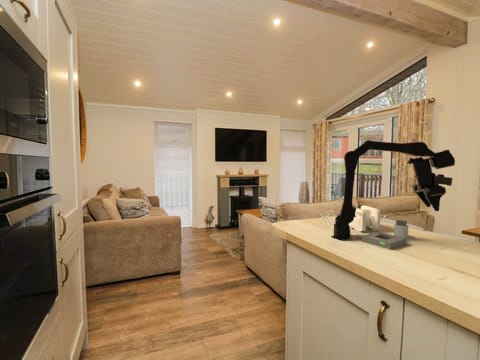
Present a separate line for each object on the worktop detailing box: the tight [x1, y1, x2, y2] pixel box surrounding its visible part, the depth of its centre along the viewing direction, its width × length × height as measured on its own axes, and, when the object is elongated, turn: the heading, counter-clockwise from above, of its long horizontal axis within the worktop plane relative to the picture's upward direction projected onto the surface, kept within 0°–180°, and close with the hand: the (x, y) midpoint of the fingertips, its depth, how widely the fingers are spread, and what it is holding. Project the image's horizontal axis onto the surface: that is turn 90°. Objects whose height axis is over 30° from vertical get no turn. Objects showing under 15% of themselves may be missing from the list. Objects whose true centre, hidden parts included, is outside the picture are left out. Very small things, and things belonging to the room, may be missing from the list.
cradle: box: [407, 234, 416, 242], centre depth 115 cm, size 8×8×2 cm
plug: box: [393, 219, 409, 239], centre depth 114 cm, size 4×4×8 cm
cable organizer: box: [349, 205, 381, 232], centre depth 131 cm, size 15×11×12 cm
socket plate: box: [361, 231, 408, 251], centre depth 108 cm, size 12×12×3 cm
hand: (432, 209), depth 104 cm, fingers open, 9 cm apart
